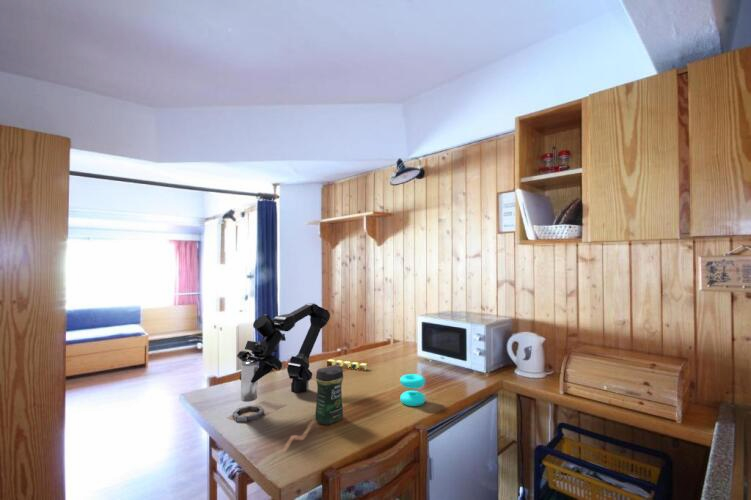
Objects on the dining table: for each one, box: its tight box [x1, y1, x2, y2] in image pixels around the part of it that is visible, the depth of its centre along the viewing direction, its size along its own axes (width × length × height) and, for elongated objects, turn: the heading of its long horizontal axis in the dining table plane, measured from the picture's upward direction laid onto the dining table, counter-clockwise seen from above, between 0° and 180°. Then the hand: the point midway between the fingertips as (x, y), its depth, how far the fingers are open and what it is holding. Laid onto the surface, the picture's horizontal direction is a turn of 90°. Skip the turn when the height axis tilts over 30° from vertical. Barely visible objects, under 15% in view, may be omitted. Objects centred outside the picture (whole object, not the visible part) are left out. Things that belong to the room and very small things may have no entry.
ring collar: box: [231, 404, 264, 423], centre depth 123 cm, size 10×10×2 cm
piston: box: [240, 360, 259, 403], centre depth 124 cm, size 6×6×13 cm
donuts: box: [399, 373, 426, 407], centre depth 138 cm, size 10×10×10 cm
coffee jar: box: [314, 365, 344, 426], centre depth 123 cm, size 10×8×19 cm
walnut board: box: [226, 399, 288, 426], centre depth 127 cm, size 19×11×1 cm, turn 151°
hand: (246, 381), depth 123 cm, fingers closed on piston, 6 cm apart
